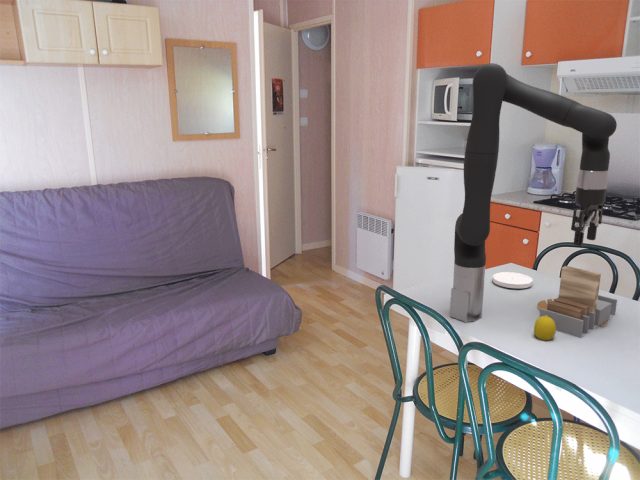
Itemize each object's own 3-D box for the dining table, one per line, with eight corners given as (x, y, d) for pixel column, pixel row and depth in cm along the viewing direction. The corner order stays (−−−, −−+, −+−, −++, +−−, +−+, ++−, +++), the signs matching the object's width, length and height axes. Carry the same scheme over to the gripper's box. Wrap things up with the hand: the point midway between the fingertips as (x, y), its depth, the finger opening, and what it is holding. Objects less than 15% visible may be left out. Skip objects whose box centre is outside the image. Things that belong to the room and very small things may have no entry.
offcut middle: (582, 331, 147) (585, 308, 145) (551, 321, 153) (554, 299, 152) (586, 328, 148) (589, 306, 147) (555, 319, 155) (558, 297, 153)
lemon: (536, 336, 148) (538, 310, 146) (556, 341, 144) (559, 314, 142) (529, 342, 143) (532, 316, 141) (550, 348, 140) (553, 321, 138)
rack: (580, 342, 143) (582, 321, 141) (538, 329, 152) (540, 308, 150) (614, 319, 158) (617, 299, 156) (574, 308, 167) (577, 289, 165)
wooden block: (590, 327, 149) (597, 275, 145) (556, 317, 156) (561, 267, 152) (594, 325, 150) (601, 273, 146) (560, 315, 158) (565, 265, 154)
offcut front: (576, 335, 144) (579, 311, 143) (545, 325, 151) (547, 303, 149) (580, 332, 146) (583, 309, 144) (549, 322, 153) (551, 300, 151)
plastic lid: (485, 279, 196) (485, 273, 195) (518, 277, 198) (519, 271, 198) (504, 292, 183) (504, 285, 182) (540, 289, 185) (540, 282, 184)
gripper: (588, 182, 150) (581, 235, 154) (566, 187, 141) (559, 244, 145) (616, 184, 145) (608, 240, 149) (594, 190, 136) (587, 249, 140)
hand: (584, 242), depth 147 cm, fingers open, 8 cm apart
